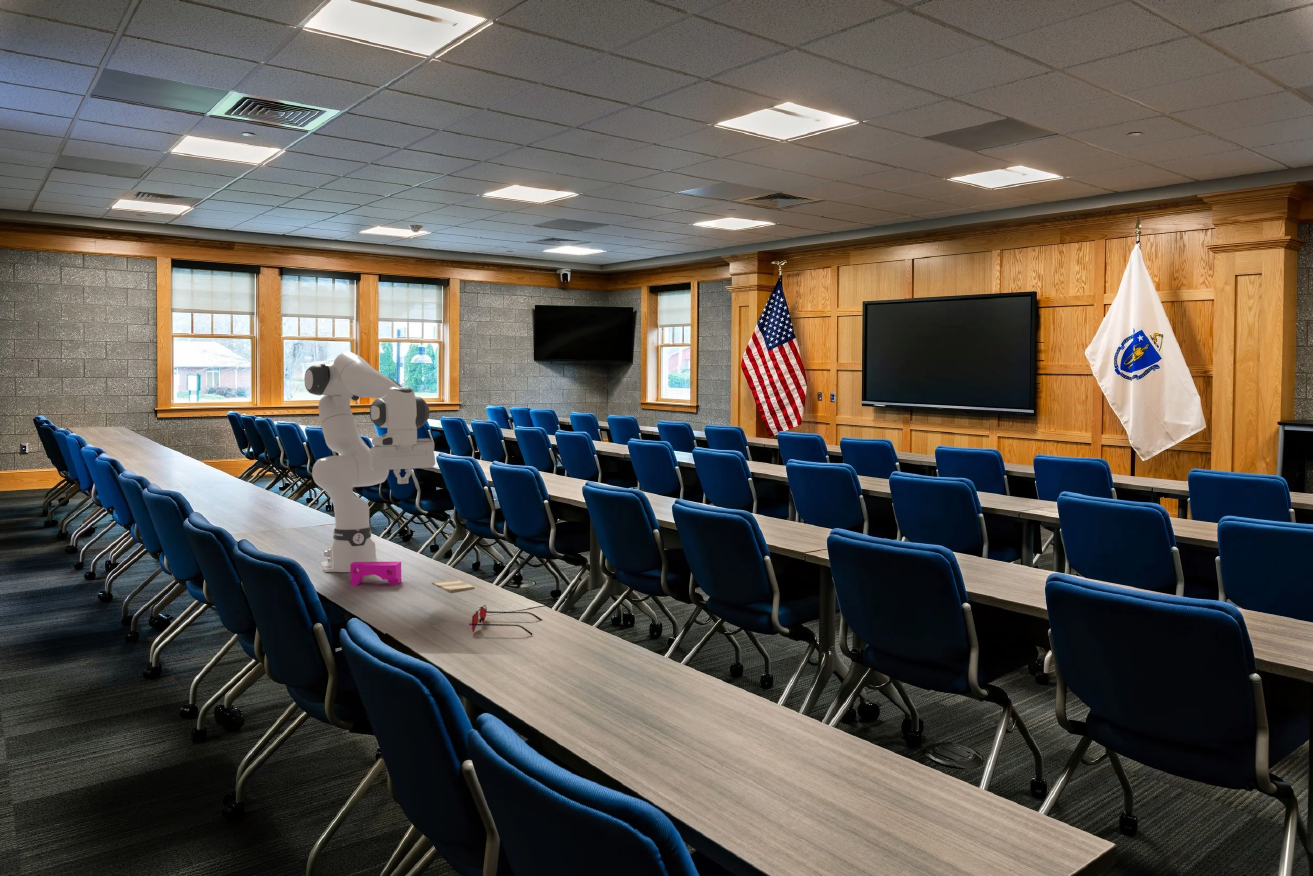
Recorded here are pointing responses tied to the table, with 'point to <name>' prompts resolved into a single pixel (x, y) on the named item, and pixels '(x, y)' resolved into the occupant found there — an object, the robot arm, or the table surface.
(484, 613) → the glasses
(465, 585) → the wooden board
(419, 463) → the robot arm
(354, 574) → the toy block
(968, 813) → the table surface
